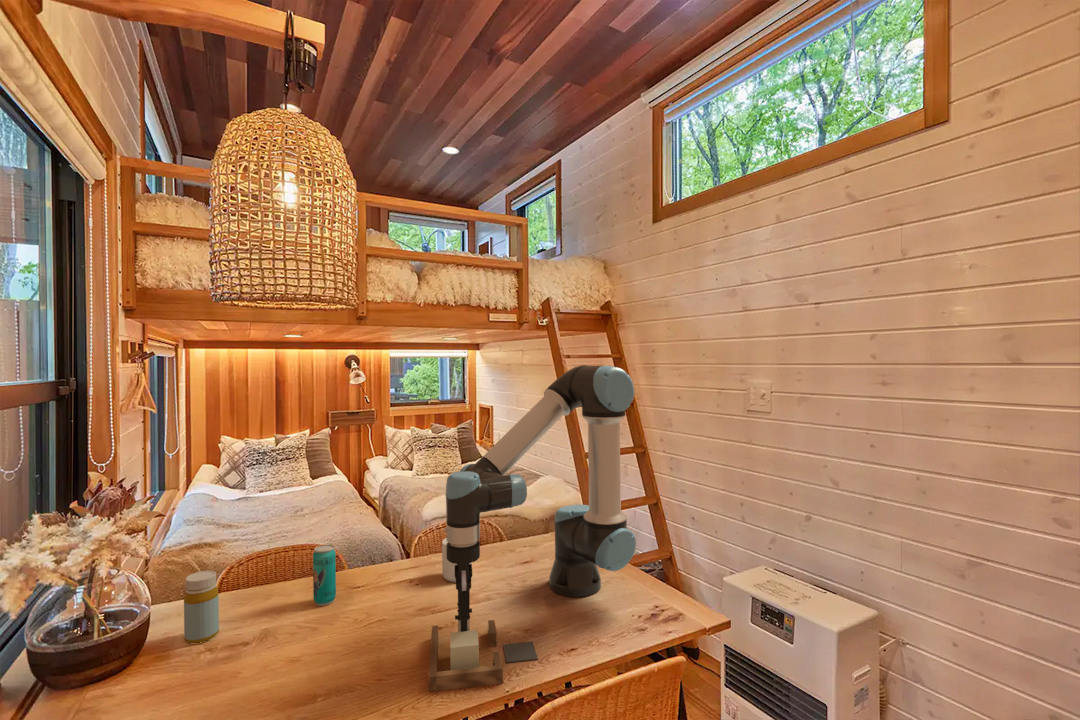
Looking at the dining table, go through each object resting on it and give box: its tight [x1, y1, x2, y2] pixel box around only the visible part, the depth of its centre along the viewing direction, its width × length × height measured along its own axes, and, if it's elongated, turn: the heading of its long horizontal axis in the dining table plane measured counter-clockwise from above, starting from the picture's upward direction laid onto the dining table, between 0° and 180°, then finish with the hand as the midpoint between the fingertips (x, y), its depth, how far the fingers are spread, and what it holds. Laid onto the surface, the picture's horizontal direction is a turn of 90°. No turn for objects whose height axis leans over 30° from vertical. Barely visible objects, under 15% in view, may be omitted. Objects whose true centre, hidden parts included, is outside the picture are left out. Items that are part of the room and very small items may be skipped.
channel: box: [428, 619, 504, 693], centre depth 116 cm, size 15×20×3 cm
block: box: [449, 629, 480, 670], centre depth 113 cm, size 6×6×6 cm
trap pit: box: [502, 640, 539, 664], centre depth 118 cm, size 7×7×1 cm
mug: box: [441, 537, 473, 583], centre depth 160 cm, size 12×9×11 cm
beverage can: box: [312, 544, 337, 607], centre depth 142 cm, size 6×6×15 cm
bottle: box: [183, 570, 220, 644], centre depth 125 cm, size 7×7×15 cm
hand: (463, 644), depth 118 cm, fingers closed
